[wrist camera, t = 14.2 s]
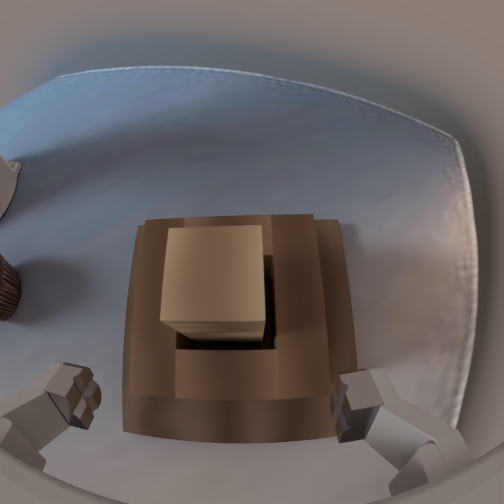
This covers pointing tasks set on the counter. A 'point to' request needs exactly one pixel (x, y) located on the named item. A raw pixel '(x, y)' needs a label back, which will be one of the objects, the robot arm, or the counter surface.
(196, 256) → the rail end
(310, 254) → the post block
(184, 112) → the counter surface
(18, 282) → the cupcake
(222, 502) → the counter surface
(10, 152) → the counter surface
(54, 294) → the counter surface
